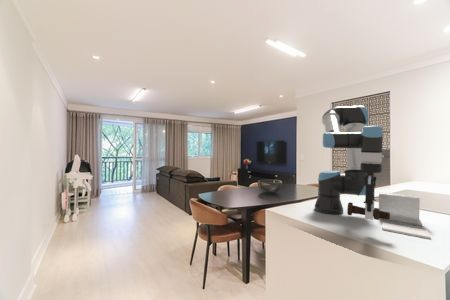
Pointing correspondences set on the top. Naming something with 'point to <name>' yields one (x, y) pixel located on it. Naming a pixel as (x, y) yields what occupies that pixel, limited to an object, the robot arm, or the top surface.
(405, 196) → the block
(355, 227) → the top surface
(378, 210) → the bolt
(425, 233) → the mat
